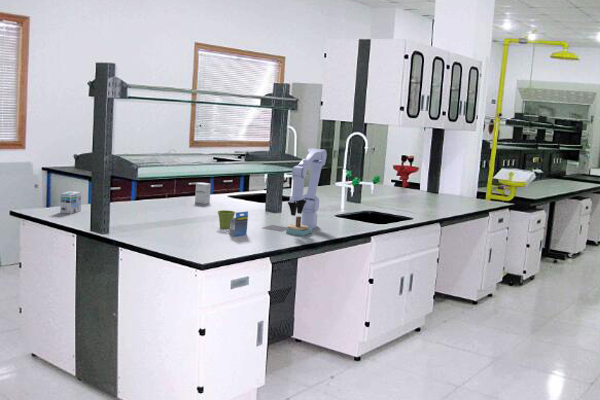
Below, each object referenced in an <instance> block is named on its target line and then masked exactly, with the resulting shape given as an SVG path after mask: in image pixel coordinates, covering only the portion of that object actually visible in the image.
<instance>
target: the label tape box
mask: <svg viewBox="0 0 600 400" xmlns="http://www.w3.org/2000/svg"><path fill="white" fill-rule="evenodd" d="M248 221H249V211H248V210H247V211H239V212H235V217H233V219H231V221H230V228H229V236H231V237H238V236H240V237H241V236H245V235H247V232H248Z"/></svg>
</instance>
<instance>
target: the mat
mask: <svg viewBox="0 0 600 400" xmlns="http://www.w3.org/2000/svg"><path fill="white" fill-rule="evenodd" d="M287 227H288V226H282V225H275V224H271V225H267V226H264V227H262V229H263V230H264V229H265V230H270V231H276V232H284V231H286V228H287Z"/></svg>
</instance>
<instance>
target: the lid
mask: <svg viewBox="0 0 600 400" xmlns="http://www.w3.org/2000/svg"><path fill="white" fill-rule="evenodd" d="M301 223H302V216H296V217H295V223H290V224H287V226H286V227H287V228H289V229H292V230H308V226H306V225H301Z"/></svg>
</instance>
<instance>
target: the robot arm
mask: <svg viewBox="0 0 600 400" xmlns="http://www.w3.org/2000/svg"><path fill="white" fill-rule="evenodd" d="M327 156H328V153H327V150H326V149H325V148H324V149H321V148H320V149H319V148H312V147H309V148H308V149H307V151H306V157H305V158H302V160H301V161H300V162H299V163H298V164H297V165H295V166H292V169H291V170H292V171H291V176H292V177H291V179H292V191H291V192H292V194H291V195H292V196H290V197H289V201H288V202H287V205H288V207H289V210H290V216H294V217H295V216H296V214H299V215H301V225H306V226H308V228H312V230H313V229H315V228H318V227H319V225H317V223H318V213H317V212H318V211H319V208H320V198H319V197H318V196H317V190H318V185H319V181H320V176H321V171H322V167H324V166H325V165H326V160H327ZM311 165H312V167H311ZM310 168H312V170H311V173H310V178H309V182H308V187H307V191H306V193H305V194H304V188H305V187H304V185H305V178H306V177H307V175H308V171H309V170H310Z"/></svg>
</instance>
